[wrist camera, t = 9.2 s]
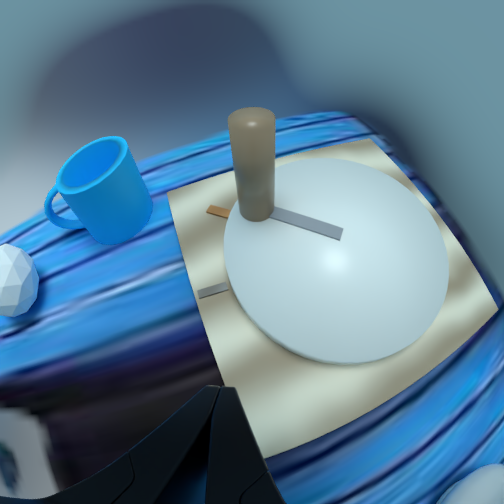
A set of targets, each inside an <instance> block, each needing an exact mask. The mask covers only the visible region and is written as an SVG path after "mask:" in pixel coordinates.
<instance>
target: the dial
mask: <svg viewBox="0 0 504 504" xmlns="http://www.w3.org/2000/svg"><path fill="white" fill-rule="evenodd" d="M228 125H229V134H230V142H231V150H232V158H233V166H234V173H235V181H236V189H237V196H238V200H237V201H236V202H235V204H234V206H233V208H232V210H231V212H230V214H229V217H228V220H227V223H226V228H225V233H224V258H225V265H226V269H227V273H228V277H229V280H230V283H231V286H232V289H233V292H234V294H235V296H236V298H237V300H238V302H239V304H240V305H241V307H242V308H243V310H244V311H245V313H246V314H247V316H248V317H249V318H250V320H251V321H252V322H253V323H254V324H255V325H256V326H257V327H258V328H259V329H260V330H261V331H262V332H263V333H264V334H265V335H267V336H268V337H269V338H270V339H271V340H273V341H274V342H275V343H277V344H279V345H280V346H282V347H284V348H285V349H287V350H288V351H290V352H293V353H295V354H297V355H300V356H302V357H304V358H307V359H310V360H314V361H318V362H321V363H327V364H336V365H358V364H364V363H369V362H374V361H377V360H380V359H383V358H386V357H388V356H390V355H392V354H394V353H396V352H398V351H400V350H402V349H403V348H405V347H407V346H409V345H410V344H412V343H413V342H414V341H415V340H417V339H418V338H419V337H420V336H422V335H423V334H424V332H425V331H426V330H427V329H428V328H429V327H430V326H431V325H432V323H433V321H434V320H435V318H436V317H437V315H438V314H439V312H440V309H441V307H442V305H443V302H444V300H445V296H446V292H447V288H448V279H449V262H448V256H447V250H446V246H445V243H444V240H443V237H442V235H441V232H440V230H439V228H438V226H437V224H436V222H435V220H434V219H433V217H432V215H431V214H430V212H429V211H428V210H427V208H426V207H425V206H424V205H423V203H422V202H421V201H420V200H419V199H418V198H417V197H416V196H415V195H414V194H413V193H412V192H411V191H410V190H409V189H408V188H406V187H405V186H404V185H402V184H401V183H400V182H398V181H397V180H395V179H394V178H392V177H390V176H389V175H387V174H385V173H383V172H381V171H379V170H377V169H375V168H372V167H369V166H367V165H364V164H361V163H357V162H353V161H349V160H343V159H335V158H312V159H303V160H298V161H294V162H290V163H287V164H284V165H281V166H279V167H277V168H275V115H274V114H273V113H272V112H271V111H269V110H267V109H264V108H259V107H247V108H242V109H239V110H236V111H235V112H233V113H232V114H230V116H229V117H228Z"/></svg>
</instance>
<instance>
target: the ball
mask: <svg viewBox="0 0 504 504" xmlns="http://www.w3.org/2000/svg"><path fill="white" fill-rule="evenodd" d="M38 285H39V276H38V273H37V270H36V267H35V264H34V261H33V259H32V258H31V257H30V256H29V255H28V254H27V253H26V252H25V251H24V250H23V249H20V248H17V247H14V246H11V245H9V244H4V245H2V246H0V315H3V316H9V317H16V316H18V315H20V314H23V313H25V312H27V311H28V310H29V308H30V307H31V305H32V304H33V303H34V301H35V300H36V299H37V293H38Z"/></svg>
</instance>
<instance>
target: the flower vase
mask: <svg viewBox="0 0 504 504" xmlns="http://www.w3.org/2000/svg"><path fill="white" fill-rule="evenodd" d="M436 504H504V465H503V464H488V465H485V466H483V467H480V468H478V469H476V470H475V471H473V472H472V473H470V474H468V475H467V476H466V477H464V478H463V479H461V480H459V481H458V482H456V483H454V484H453V485H452V486H451V487H449V488H448V489H447V490H446V491H445V492H444V493H443V495H442V496H441V497H440V498H439V500H438V501H437V503H436Z"/></svg>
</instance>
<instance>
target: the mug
mask: <svg viewBox="0 0 504 504" xmlns="http://www.w3.org/2000/svg"><path fill="white" fill-rule="evenodd" d="M58 192H59V193H60V194H61V196H62V197H63V198H64V200H65V201H66V203H67V204H68V205H69V207H70V208H71V209H72V211H73V212H74V213H75V215H76V216H77V217H78V219H79V220H69V219H64V218H62V217H59V216H58V215H57V214H56V213H54V211H53V209H52V200H53V198H54V197H55V195H56V194H57V193H58ZM44 207H45V214H46V216H47V218H48V219H49V220H50V221H51V222H52V223H53V224H54V225H56V226H59V227H61V228H66V229H81V228H86V229H87V230H88V231H89V233H90V234H91V235H92V236H93V238H94V239H95V240H96V241H98V242H99V243H101V244H105V245H115V244H119V243H123V242H125V241H127V240H128V239H130V238H132V237H134V236H135V235H136V234H137V233H138V232H140V231H141V230H142V229H143V227H144V226H145V225H146V223H147V222H148V221H149V218H150V216H151V213H152V207H153V202H152V200H151V197H150V195H149V193H148V190H147V188H146V186H145V184H144V181H143V179H142V177H141V175H140V172H139V170H138V168H137V166H136V163H135V161H134V159H133V156H132V154H131V152H130V150H129V147H128V144H127V142H126V140H124V139H123V138H121V137H117V136H110V137H103V138H100V139H97V140H95V141H92V142H91V143H89V144H87V145H85V146H83V147H82V148H80V149H79V150H78V151H77V152H75V153H74V154H73V155H72V156H71V157H70V158H69V159H68V160H67V161H66V162H65V163H64V165H63V166H62V168H61V169H60V171H59V173H58V176H57V178H56V184H55V186H54V187H53V188H52V189H51V190H50V191H49V193H48V195H47V197H46V200H45V204H44Z"/></svg>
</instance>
